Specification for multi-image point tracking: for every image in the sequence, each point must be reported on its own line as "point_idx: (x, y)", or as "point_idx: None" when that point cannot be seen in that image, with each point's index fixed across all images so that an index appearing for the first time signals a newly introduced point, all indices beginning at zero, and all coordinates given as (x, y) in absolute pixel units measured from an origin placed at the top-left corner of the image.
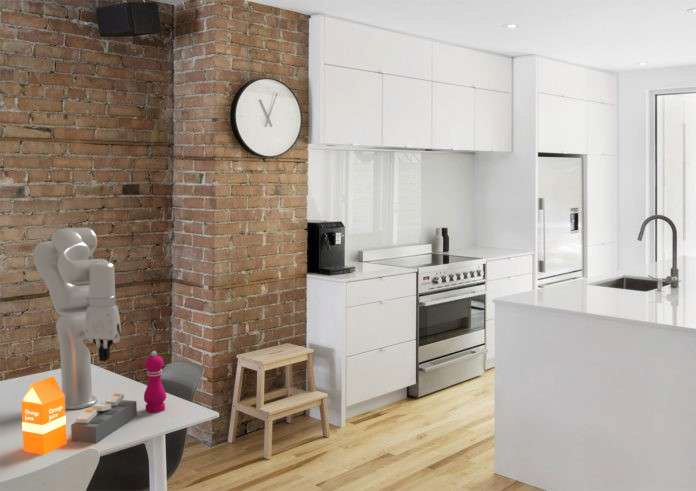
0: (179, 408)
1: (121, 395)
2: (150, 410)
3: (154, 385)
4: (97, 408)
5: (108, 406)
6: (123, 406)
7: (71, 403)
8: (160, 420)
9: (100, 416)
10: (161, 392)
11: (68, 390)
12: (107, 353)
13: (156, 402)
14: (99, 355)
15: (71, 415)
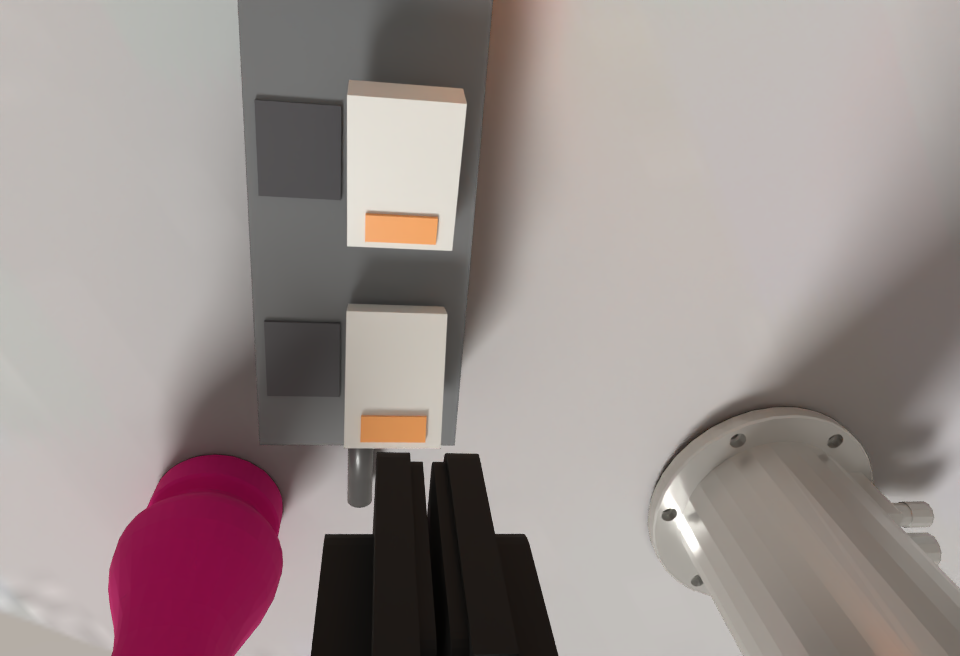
0: (73, 550)
1: (348, 420)
2: (215, 462)
3: (141, 614)
4: (401, 90)
5: (348, 197)
6: (290, 317)
7: (776, 448)
8: (53, 337)
9: (350, 40)
10: (110, 583)
11: (842, 501)
12: (317, 606)
13: (154, 505)
14: (486, 521)
15: (716, 321)
